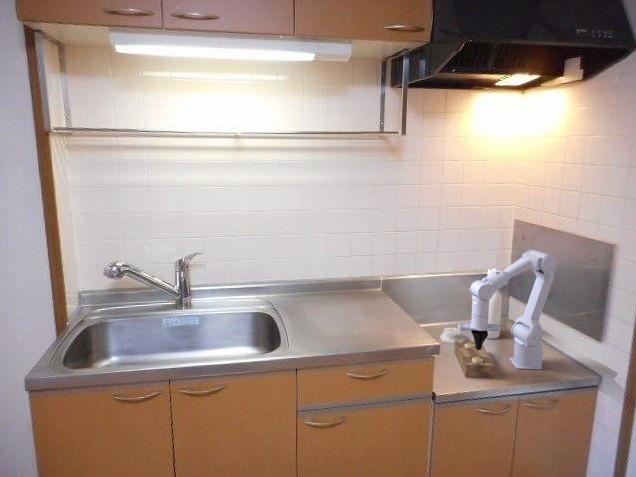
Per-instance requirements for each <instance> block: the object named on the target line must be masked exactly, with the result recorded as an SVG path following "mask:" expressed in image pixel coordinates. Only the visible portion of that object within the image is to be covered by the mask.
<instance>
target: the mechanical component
mask: <svg viewBox="0 0 636 477" xmlns="http://www.w3.org/2000/svg"><path fill="white" fill-rule="evenodd" d="M462 332H463V330H462V331H459V329H458V327H450V326H449V327H445V328H444V329H443V333H441V334H440V337H439V338H440V340H441V341H442V342H443V343H445V344H450V345H455V341H465V336H464V335H463V334H462Z"/></svg>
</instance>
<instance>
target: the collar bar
mask: <svg viewBox="0 0 636 477" xmlns="http://www.w3.org/2000/svg"><path fill="white" fill-rule="evenodd" d="M465 343H473V344H475V340H464V341H455V344H454V349H453V350H454V355H455V357H456V359H457V362H458V364H459V367H460V369H461V370H462V373H463V375H464V377H465V378H468V379H472V378H473V379H480V378H481V379H495V366H496V365H495V364H494V362H493V360H492V358H491V357H490V355H489V354H488V352H487V350H486V348H485V347H484V344H483V345H482V347H481V350H477V349H476V346H475V348H465ZM473 357H480V358H482V359H483V363H473V362H472V358H473Z"/></svg>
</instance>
